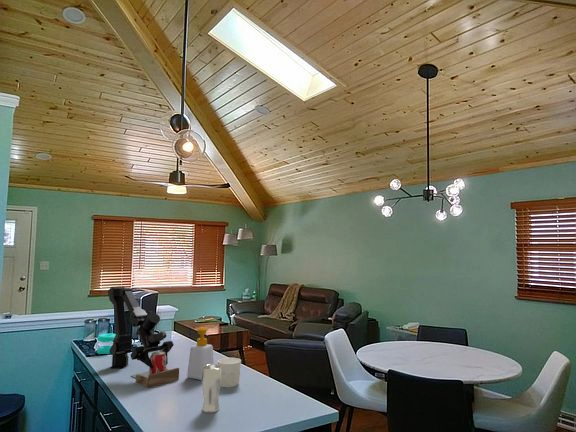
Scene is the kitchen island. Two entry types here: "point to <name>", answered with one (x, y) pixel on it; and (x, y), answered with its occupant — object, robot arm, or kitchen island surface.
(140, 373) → the mat
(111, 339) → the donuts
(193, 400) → the kitchen island surface
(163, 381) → the shelf lane
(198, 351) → the soap bottle
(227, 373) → the cup
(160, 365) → the soda can
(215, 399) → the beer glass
